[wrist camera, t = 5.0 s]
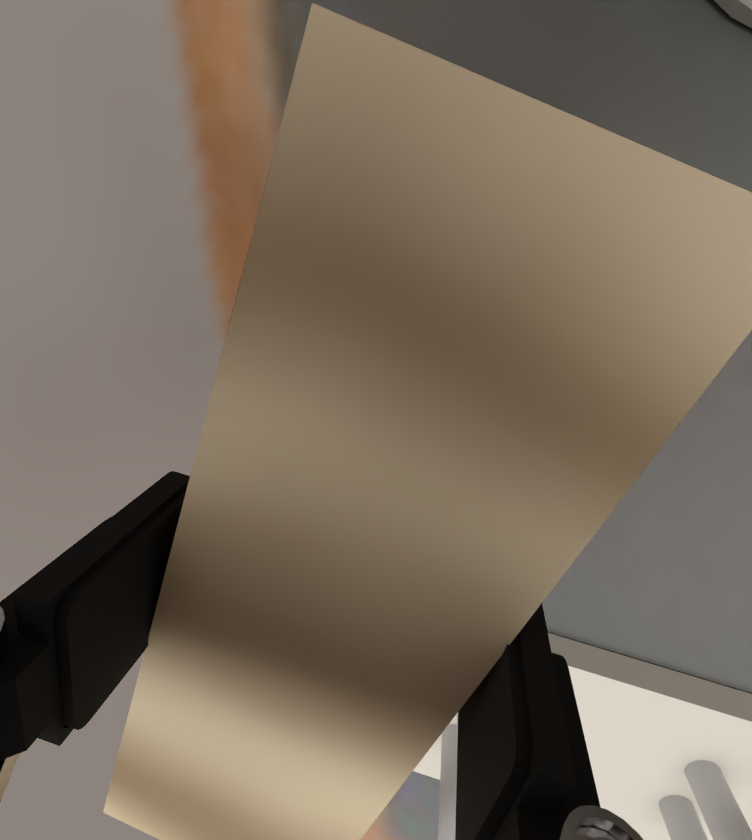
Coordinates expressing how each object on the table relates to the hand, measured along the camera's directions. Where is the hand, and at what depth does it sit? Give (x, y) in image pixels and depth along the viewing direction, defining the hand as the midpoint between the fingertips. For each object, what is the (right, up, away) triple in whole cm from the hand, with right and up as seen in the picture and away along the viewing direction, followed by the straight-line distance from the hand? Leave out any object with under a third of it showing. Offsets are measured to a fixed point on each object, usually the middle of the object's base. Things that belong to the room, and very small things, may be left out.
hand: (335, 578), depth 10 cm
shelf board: (0, 0, +1) cm, 1 cm away
